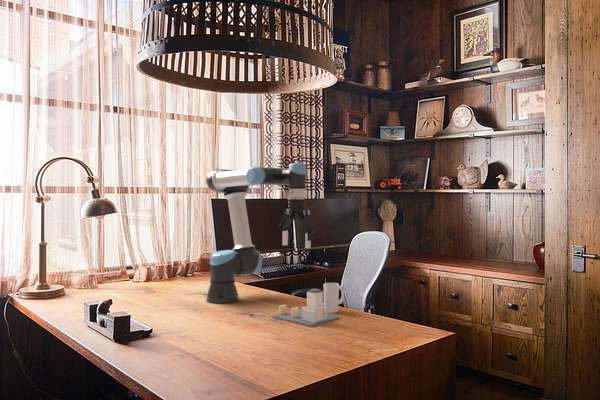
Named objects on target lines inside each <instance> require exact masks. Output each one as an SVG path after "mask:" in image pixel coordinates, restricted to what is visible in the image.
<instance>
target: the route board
mask: <svg viewBox="0 0 600 400" xmlns="http://www.w3.org/2000/svg"><path fill="white" fill-rule="evenodd" d="M271 317H272V318H273V319H277V320H282V321H284V322H290V323H293V324H298V325H301V326H306V327H309V328H312V327H316V326H318V325H319V326H320V325H323V324H325V323H326V324H327V323H329V322H332V321H336V320H339V319H340V316H338V315H334V314H331V313H327V308H325V307H324V306H323V314H322V320H318V321H315V311H312V310H307V306H301V307H298V306H296V307H292V308H290V310H289V311H287V304H281V305H278V314H273V315H272V316H271Z"/></svg>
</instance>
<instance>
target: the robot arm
mask: <svg viewBox="0 0 600 400" xmlns="http://www.w3.org/2000/svg"><path fill="white" fill-rule="evenodd" d="M307 175H308V173H307V165H306V164H305V163H289V167H288V168H285V167H284V168H282V167H281V168H279V167H263V166H261V167H260V166H250V167H249V168H243V169H220V168H219V169H217V168H216V169H213V170H211V171H210V172H209V173H208V174H207V175H206V177H205V178H206V179H205V182H206V185H207V187H208V189H209V190H210V191H212V192H215V193H223V197H224V198H225V199H226V200H227V202H228V210H229V216H230V217H229V218H230V223H231V230H232V237H233V243H234V245H233V246H234V247H233V248H232V249H225V250H217V251H214V252H213V253H212V254H210V262H209V264H210V268H209V269H210V270H209V271H210V275H209V276H210V282H209V288H208V289H207V293H206V302H208V303H211V304H212V303H213V304H230V303H235V302H237V301H239V293H238V290H237V286H236V277H243V276H250V275H255V274H257V273H259V272H260V270H261V269H262V265H263V257H262V256H263V255H262V254H261V253H260V251H259V250H257V248H256V246H255V245H254V244H253V243H252V236H251V231H250V230H251V229H250V223H249V216H248V210H247V205H246V199H245V198H246V196H247V195H248V191H249V190H250V187H251V186H256V185H271V186H272V185H273V186H274V185H275V186H288V198H289V199H288V207H289V208H284V209H283V215H282V217H281V220H280V222H279V225H278V229H279V230H281V238H282V242H281V243H282V244H281V245H282V247H283V246H288V245H289V231H288V229H289V227H290V226H291V224H292V223H293V222H294V221H295V220H297V221H299V222H300V223H301V224H302V226H303V229H305V238H304V239H305V241H304V242H305V245H304V249H311V245H312V240H313V233H316V232H317V229H316V227H315V226H316V225H315V223H314V221H313V218H312V213H311V211H312V210H311V209H306V206H307V205H306V203H307V202H306V198H307Z"/></svg>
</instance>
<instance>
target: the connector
mask: <svg viewBox="0 0 600 400" xmlns="http://www.w3.org/2000/svg"><path fill="white" fill-rule="evenodd" d="M306 307H307V310H312V311H315V321H318V320H322V314H323V307H324V291H322V289H320V288H310V289H308V291H307V292H306Z"/></svg>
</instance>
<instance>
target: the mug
mask: <svg viewBox="0 0 600 400" xmlns="http://www.w3.org/2000/svg"><path fill="white" fill-rule="evenodd" d="M339 291H341V297H340V299H339V295H340V292H339ZM344 298H345V289H344V288H343V285H340V284H339V283H338V282H325V283H323V307H325V308H327V314H335V313H338V312H339V305H342V304H343V301H344Z"/></svg>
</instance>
